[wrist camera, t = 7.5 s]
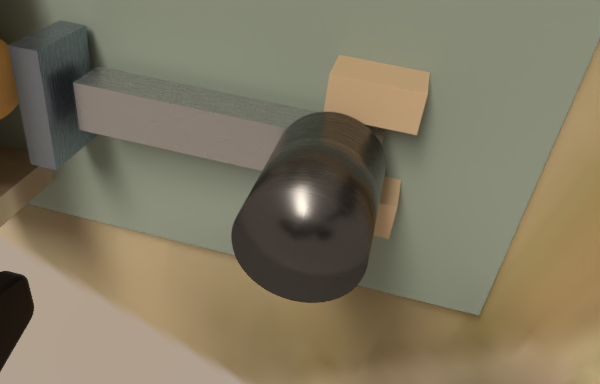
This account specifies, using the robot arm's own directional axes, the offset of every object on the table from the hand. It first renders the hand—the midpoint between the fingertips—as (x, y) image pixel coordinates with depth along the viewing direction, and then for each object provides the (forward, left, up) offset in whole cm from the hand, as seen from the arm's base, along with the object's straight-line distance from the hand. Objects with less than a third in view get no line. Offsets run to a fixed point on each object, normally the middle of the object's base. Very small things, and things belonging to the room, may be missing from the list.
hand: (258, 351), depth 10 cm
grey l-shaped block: (+5, +1, -11) cm, 12 cm away
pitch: (+5, +1, -12) cm, 13 cm away
